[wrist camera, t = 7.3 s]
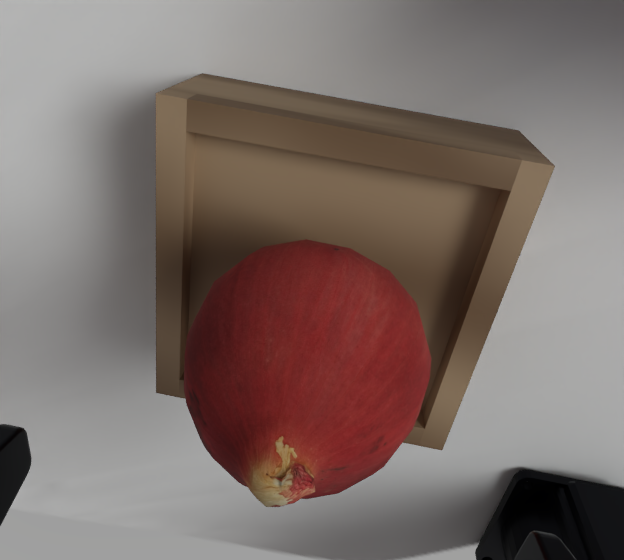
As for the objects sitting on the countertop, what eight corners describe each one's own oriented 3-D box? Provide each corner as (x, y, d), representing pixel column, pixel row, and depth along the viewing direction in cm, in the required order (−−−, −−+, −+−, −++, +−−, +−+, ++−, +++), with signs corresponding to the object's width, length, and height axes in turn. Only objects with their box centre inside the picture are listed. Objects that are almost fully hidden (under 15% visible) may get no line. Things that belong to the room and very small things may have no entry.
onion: (359, 395, 17) (330, 650, 10) (207, 315, 17) (68, 525, 10) (461, 263, 15) (517, 484, 8) (285, 162, 14) (170, 300, 7)
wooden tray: (432, 377, 21) (442, 450, 17) (191, 330, 21) (156, 392, 18) (518, 130, 16) (554, 165, 12) (202, 73, 16) (155, 93, 13)
